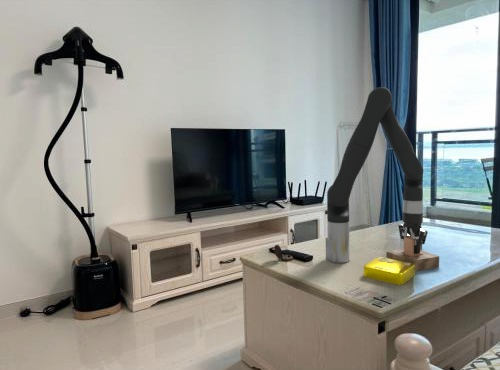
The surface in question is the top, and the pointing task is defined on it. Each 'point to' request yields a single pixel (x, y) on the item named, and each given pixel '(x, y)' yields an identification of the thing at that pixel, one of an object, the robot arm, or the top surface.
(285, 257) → the compass
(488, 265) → the top surface
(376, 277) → the element tile
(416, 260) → the walnut base
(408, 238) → the terracotta peg
